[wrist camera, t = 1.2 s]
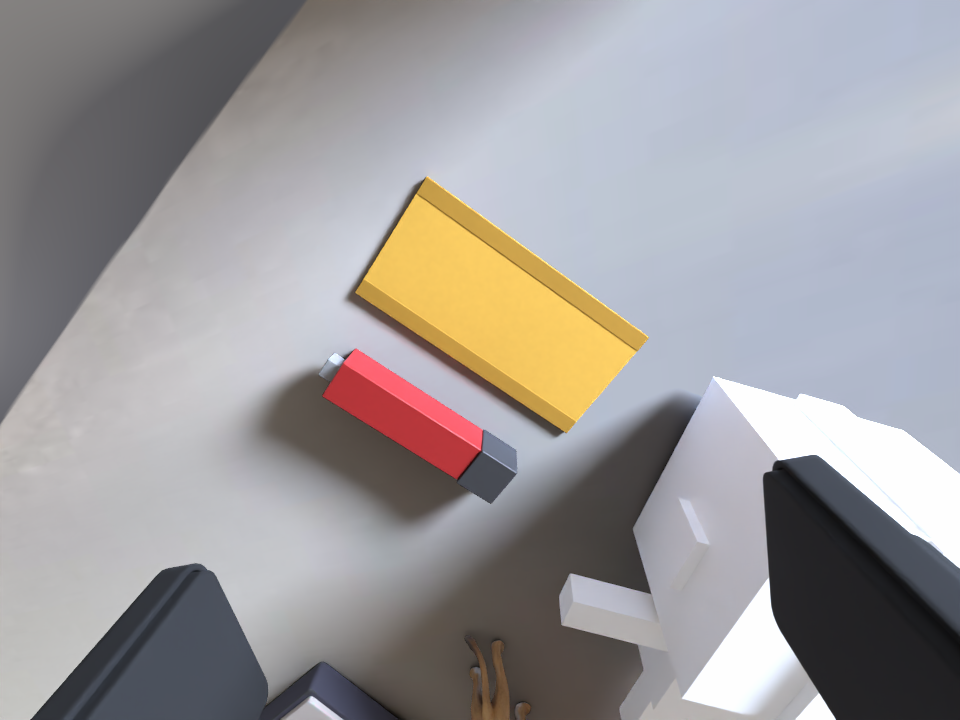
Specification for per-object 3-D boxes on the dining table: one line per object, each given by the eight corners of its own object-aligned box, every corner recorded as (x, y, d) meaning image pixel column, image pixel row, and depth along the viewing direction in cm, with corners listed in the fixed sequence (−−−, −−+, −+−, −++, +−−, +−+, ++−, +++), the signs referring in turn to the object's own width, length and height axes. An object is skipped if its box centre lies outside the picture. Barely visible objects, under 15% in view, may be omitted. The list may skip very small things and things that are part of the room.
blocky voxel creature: (516, 615, 46) (639, 340, 35) (773, 680, 47) (974, 436, 36) (516, 814, 33) (716, 473, 21) (874, 897, 34) (1246, 619, 22)
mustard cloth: (427, 176, 32) (426, 176, 32) (648, 336, 35) (649, 337, 35) (356, 291, 35) (354, 293, 34) (566, 431, 38) (566, 433, 37)
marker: (344, 338, 36) (329, 353, 33) (516, 450, 38) (517, 473, 35) (322, 373, 37) (306, 390, 34) (492, 479, 39) (491, 504, 36)
